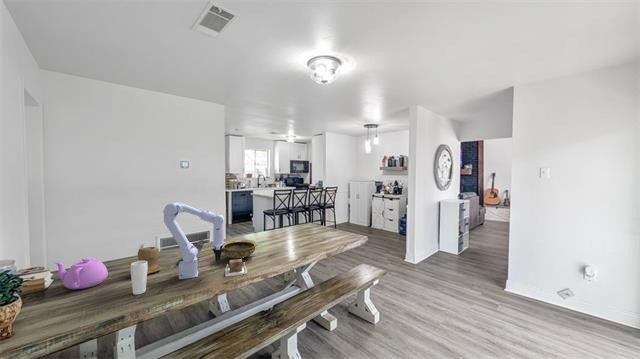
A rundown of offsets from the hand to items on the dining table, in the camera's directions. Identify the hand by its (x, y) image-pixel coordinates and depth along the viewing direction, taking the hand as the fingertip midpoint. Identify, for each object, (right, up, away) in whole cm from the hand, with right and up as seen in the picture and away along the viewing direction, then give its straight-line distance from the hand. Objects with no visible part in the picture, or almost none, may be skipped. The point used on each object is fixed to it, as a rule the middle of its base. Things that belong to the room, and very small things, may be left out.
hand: (218, 258), depth 146 cm
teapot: (-65, -9, -17) cm, 68 cm away
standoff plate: (+10, -10, +3) cm, 14 cm away
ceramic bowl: (+3, -9, +27) cm, 29 cm away
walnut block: (+9, -9, +3) cm, 13 cm away
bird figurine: (-25, -9, +19) cm, 32 cm away
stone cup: (-43, -9, -1) cm, 43 cm away
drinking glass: (-30, -10, -24) cm, 39 cm away
